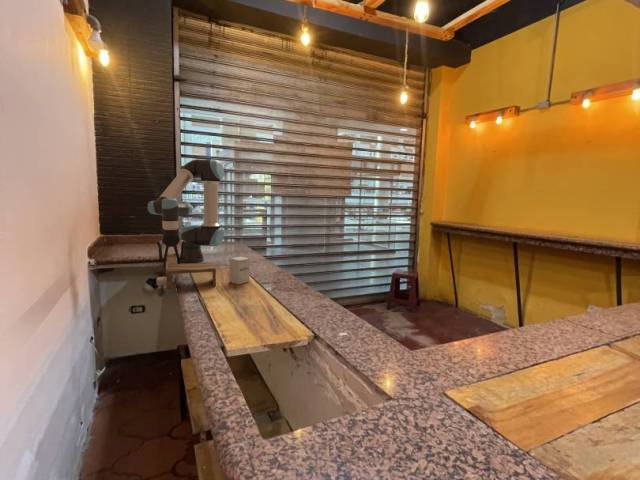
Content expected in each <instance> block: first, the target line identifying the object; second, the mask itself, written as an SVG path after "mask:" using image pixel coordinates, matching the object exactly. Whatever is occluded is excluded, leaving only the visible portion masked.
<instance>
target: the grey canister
mask: <svg viewBox="0 0 640 480" xmlns="http://www.w3.org/2000/svg"><path fill="white" fill-rule="evenodd" d="M249 282H250V257H249V258H248V257H243V256H236V257H231V258H229V283H233V284H236V285H240V284H245V283H249Z"/></svg>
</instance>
